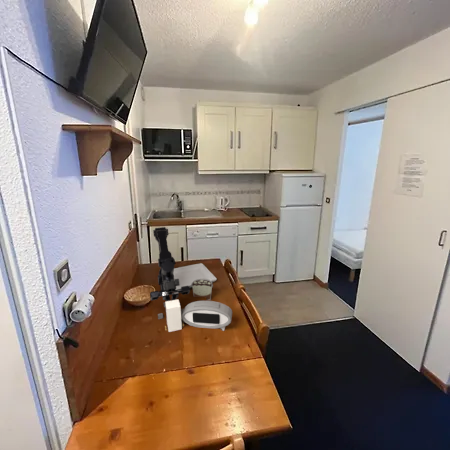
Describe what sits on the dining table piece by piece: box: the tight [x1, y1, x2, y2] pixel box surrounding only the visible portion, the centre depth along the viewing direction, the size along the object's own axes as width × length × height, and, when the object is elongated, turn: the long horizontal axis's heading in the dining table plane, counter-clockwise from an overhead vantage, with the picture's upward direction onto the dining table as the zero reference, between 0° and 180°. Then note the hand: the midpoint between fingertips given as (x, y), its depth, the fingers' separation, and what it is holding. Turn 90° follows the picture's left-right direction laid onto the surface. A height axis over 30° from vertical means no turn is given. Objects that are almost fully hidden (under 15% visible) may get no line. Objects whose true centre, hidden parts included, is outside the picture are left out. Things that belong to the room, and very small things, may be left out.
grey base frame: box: [157, 301, 185, 331], centre depth 125 cm, size 26×13×3 cm, turn 19°
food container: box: [191, 279, 214, 301], centre depth 143 cm, size 12×6×10 cm, turn 84°
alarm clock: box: [181, 300, 233, 332], centre depth 118 cm, size 23×6×13 cm, turn 83°
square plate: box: [173, 262, 217, 290], centre depth 164 cm, size 27×27×4 cm
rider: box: [165, 298, 183, 333], centre depth 116 cm, size 6×6×13 cm
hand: (172, 310), depth 118 cm, fingers closed, pressing on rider
